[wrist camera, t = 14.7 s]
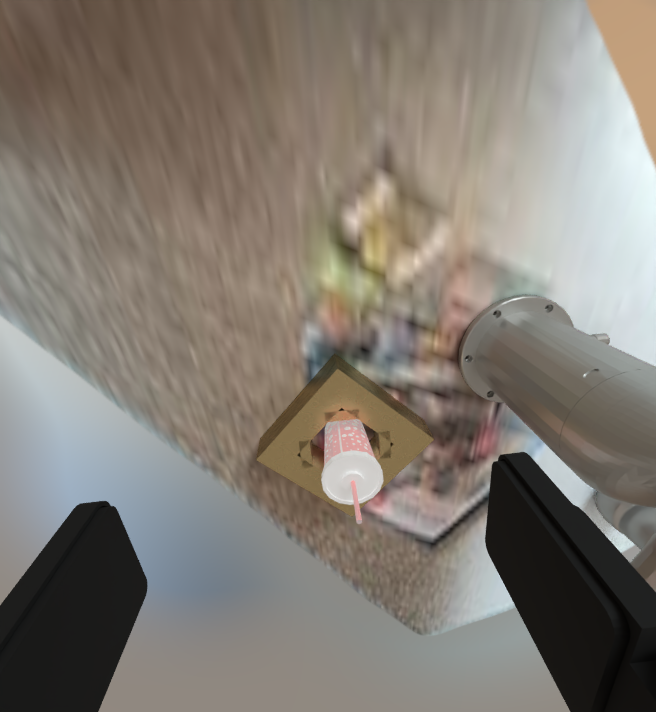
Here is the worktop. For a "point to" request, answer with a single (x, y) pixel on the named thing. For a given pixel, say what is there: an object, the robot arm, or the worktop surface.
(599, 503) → the plastic bottle
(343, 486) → the beverage cup
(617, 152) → the worktop surface
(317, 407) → the block
